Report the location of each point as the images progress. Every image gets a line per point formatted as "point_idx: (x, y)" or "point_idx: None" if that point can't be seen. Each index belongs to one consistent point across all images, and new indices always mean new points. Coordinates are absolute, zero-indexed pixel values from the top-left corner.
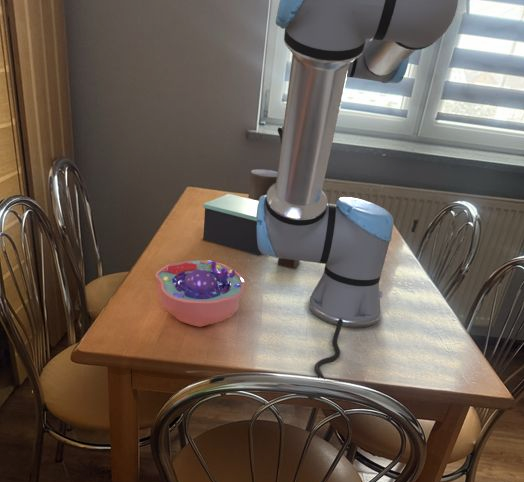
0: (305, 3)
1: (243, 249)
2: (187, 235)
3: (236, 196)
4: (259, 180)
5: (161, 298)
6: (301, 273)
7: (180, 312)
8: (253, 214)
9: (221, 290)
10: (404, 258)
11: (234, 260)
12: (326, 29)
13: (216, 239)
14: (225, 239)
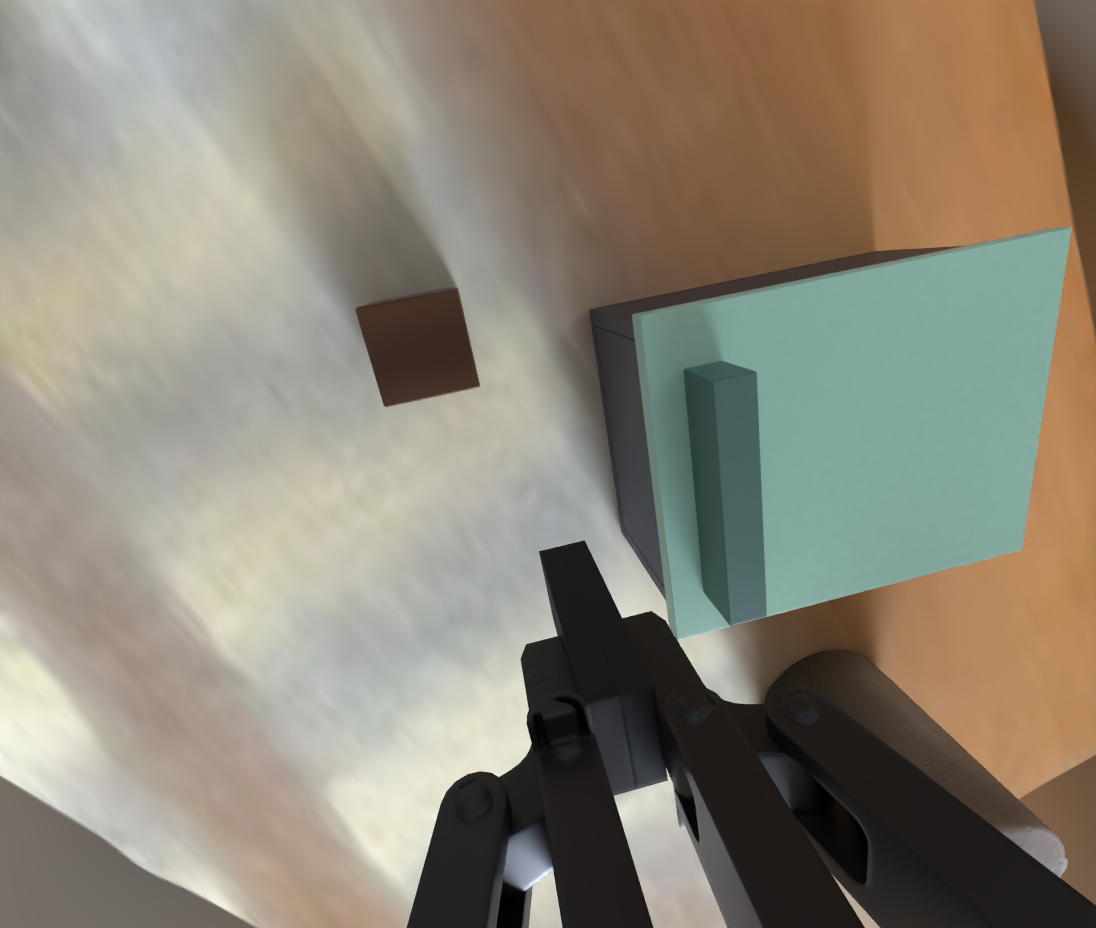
0: None
1: (670, 293)
2: (956, 238)
3: (966, 549)
4: (969, 803)
5: None
6: (303, 280)
7: None
8: (734, 339)
9: None
10: (146, 830)
11: (629, 138)
12: None
13: (821, 264)
14: (781, 274)
